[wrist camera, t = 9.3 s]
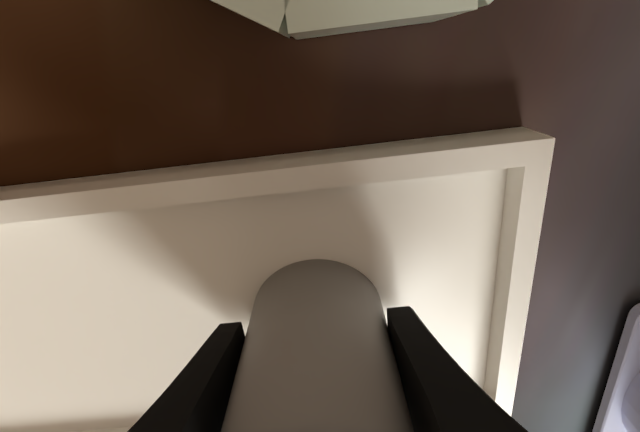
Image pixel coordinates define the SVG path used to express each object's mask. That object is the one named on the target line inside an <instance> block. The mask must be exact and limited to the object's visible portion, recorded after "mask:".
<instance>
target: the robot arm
mask: <svg viewBox="0 0 640 432" xmlns="http://www.w3.org/2000/svg"><path fill="white" fill-rule="evenodd" d="M387 327H388V331H389V335H390V339H391V343H392V347H393V351H394V355H395V359H396V362H397V366H398V370H399V374H400V378H401V382H402V386H403V390H404V394H405V398H406V402H407V406H408V410H409V414H410V418H411V422H412V426H413V430H414V432H528V431H527V430H526V429H525V428H523V427H522V426H521V425H520V424H519V423H518V422H517V421H515V420H514V419H513V418H512V417H511V416H510V415H509V414H508V413H507V412H505V411H504V410H503V409H502V408H501V407H500V406H499V405H498V404H497V403H496V402H495V401H494V400H493V399H492V398H491V397H490V396H489V395H488V394H487V393H486V392H485V391H484V390H483V389H482V388H481V387H480V386H479V385H478V384H477V383H476V382H475V381H474V380H473V379H472V378H471V377H470V376H469V375H468V374H467V373H466V372H465V371H464V370H463V369H462V368H461V367H460V366H459V365H458V363H457V362H456V361H455V360H454V359H453V358H452V357H451V356H450V355H449V353H448V352H447V351H446V350H445V349H444V348H443V347H442V345H441V344H440V343H439V342H438V341H437V340H436V338H435V337H434V336H433V335H432V333H431V332H430V331H429V330H428V329H427V327H426V326H425V325H424V323H423V322H422V321H421V319H420V318H419V317H418V315H417V314H416V313H415V311H414V310H413V309H412V308H411V307H410V306H403V307H392V308H387ZM244 340H245V334H244V330H243V326H242V323H241V322H233V323H222V324H219V325H218V327H217V328H216V329H215V330H214V331H213V333H212V334H211V335H210V336H209V338H208V339H207V340H206V341H205V343H204V344H203V345H202V346H201V348H200V349H199V350H198V351H197V353H196V354H195V355H194V356H193V357H192V359H191V360H190V361H189V362H188V364H187V365H186V366H185V367H184V368H183V370H182V371H181V372H180V373H179V374H178V376H177V377H176V378H175V379H174V380H173V382H172V383H171V384H170V385H169V386H168V388H167V389H166V390H165V391H164V392H163V393H162V394H161V396H160V397H159V398H158V399H157V400H156V401H155V402H154V403H153V404H152V405H151V407H150V408H149V409H148V410H147V411H146V412H145V413H144V414H143V415H142V417H141V418H140V419H139V420H138V421H137V422H136V423H135V424H134V425H133V426H132V427H131V428H130V429H129V430H128V431H127V432H221V429H222V425H223V421H224V417H225V414H226V410H227V406H228V402H229V398H230V394H231V390H232V386H233V383H234V379H235V375H236V371H237V367H238V363H239V359H240V356H241V352H242V348H243V344H244ZM592 432H640V303H638V304H637V305H635V306H634V307H633V308H632V309H631V310H630V312H629V313H628V317H627V320H626V323H625V326H624V330H623V333H622V336H621V339H620V343H619V346H618V349H617V352H616V356H615V359H614V362H613V365H612V369H611V372H610V375H609V379H608V382H607V385H606V388H605V392H604V395H603V398H602V401H601V405H600V408H599V411H598V414H597V418H596V421H595V424H594V427H593V431H592Z"/></svg>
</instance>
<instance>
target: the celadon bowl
mask: <svg viewBox="0 0 640 432" xmlns="http://www.w3.org/2000/svg"><path fill="white" fill-rule="evenodd" d="M210 1H212V2H214V3H216V4H218V5H220V6H222V7H225V8H227V9H229V10H231V11H233V12H235V13H237V14H239V15H241V16H243V17H246V18H248V19H250V20H252V21H254V22H256V23H258V24H260V25H262V26H264V27H267V28H269V29H271V30H273V31H275V32H277V33H279V34H281V35H283V36H285V37H288V38H290V36H292V37H294V38H295V39H297V40H298V39H305V38H313V37H321V36H329V35H336V34H344V33H352V32H360V31H367V30H375V29H383V28H390V27H398V26H406V25H414V24H421V23H429V22H434V21H438V20H441V19H445V18H448V17H452V16H456V15H459V14H463V13H466V12H470V11H473V10H477V9H478V8H479V7H482V6H486V5H488V4H490V3H491V2H492V1H494V0H210Z"/></svg>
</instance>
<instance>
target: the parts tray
mask: <svg viewBox="0 0 640 432" xmlns="http://www.w3.org/2000/svg"><path fill="white" fill-rule="evenodd" d="M554 144H555V138H554V137H551V136H548V135H546V134H543V133H540V132H537V131H534V130H531V129H529V128H526V127H515V128H506V129H497V130H488V131H480V132H471V133H462V134H454V135H445V136H436V137H428V138H419V139H410V140H401V141H393V142H384V143H375V144H367V145H358V146H349V147H340V148H332V149H323V150H314V151H306V152H297V153H288V154H280V155H271V156H262V157H253V158H245V159H236V160H227V161H219V162H210V163H201V164H192V165H184V166H175V167H166V168H158V169H149V170H140V171H132V172H123V173H114V174H105V175H97V176H88V177H79V178H71V179H62V180H53V181H44V182H36V183H27V184H18V185H10V186H1V187H0V432H127V431H128V430H129V429H130V428H131V427H132V426H133V425H134V424H135V423H136V422H137V421H138V420H139V419H140V418H141V417H142V415H143V414H144V413H145V412H146V411H147V410H148V409H149V408H150V407H151V405H152V404H153V403H154V402H155V401H156V400H157V399H158V398H159V397H160V396H161V394H162V393H163V392H164V391H165V390H166V389H167V388H168V386H169V385H170V384H171V383H172V382H173V380H174V379H175V378H176V377H177V376H178V374H179V373H180V372H181V371H182V370H183V368H184V367H185V366H186V365H187V364H188V362H189V361H190V360H191V359H192V357H193V356H194V355H195V354H196V353H197V351H198V350H199V349H200V348H201V346H202V345H203V344H204V343H205V341H206V340H207V339H208V338H209V336H210V335H211V334H212V333H213V331H214V330H215V329H216V328H217V327H218V325H219V324H222V323H233V322H241V323H242V326H243V330H244V334H245V336H246V332H247V328H248V325H249V321H250V317H251V313H252V309H253V305H254V301H255V298H256V295H257V293H258V291H259V289H260V287H261V286H262V284H263V283H264V282H265V281H266V280H267V279H268V278H269V277H270V276H271V275H272V274H273V273H275V272H276V271H278V270H279V269H281V268H283V267H285V266H287V265H289V264H292V263H295V262H299V261H304V260H311V259H324V260H332V261H337V262H340V263H344V264H346V265H349V266H351V267H353V268H355V269H356V270H358V271H360V272H361V273H362V274H364V275H365V276H366V277H367V278H368V279H369V280H370V281H371V282H372V284H373V285H374V286H375V288H376V290H377V292H378V294H379V296H380V299H381V303H382V307H383V311H384V315H385V319H386V323H387V308H392V307H403V306H410V307H411V308H412V309H413V310H414V311H415V313H416V314H417V315H418V317H419V318H420V319H421V321H422V322H423V323H424V325H425V326H426V327H427V329H428V330H429V331H430V332H431V333H432V335H433V336H434V337H435V338H436V340H437V341H438V342H439V343H440V344H441V345H442V347H443V348H444V349H445V350H446V351H447V352H448V353H449V355H450V356H451V357H452V358H453V359H454V360H455V361H456V362H457V363H458V365H459V366H460V367H461V368H462V369H463V370H464V371H465V372H466V373H467V374H468V375H469V376H470V377H471V378H472V379H473V380H474V381H475V382H476V383H477V384H478V385H479V386H480V387H481V388H482V389H483V390H484V391H485V392H486V393H487V394H488V395H489V396H490V397H491V398H492V399H493V400H494V401H495V402H496V403H497V404H498V405H499V406H500V407H501V408H502V409H503V410H504V411H505V412H507V413H508V414H509V415H510V416H511V415H512V408H513V402H514V396H515V389H516V383H517V377H518V371H519V364H520V358H521V352H522V345H523V339H524V333H525V327H526V320H527V314H528V308H529V301H530V295H531V289H532V282H533V276H534V270H535V264H536V257H537V251H538V245H539V238H540V232H541V226H542V220H543V213H544V207H545V201H546V194H547V188H548V182H549V176H550V169H551V163H552V157H553V150H554Z"/></svg>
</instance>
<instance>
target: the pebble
mask: <svg viewBox="0 0 640 432" xmlns="http://www.w3.org/2000/svg"><path fill="white" fill-rule="evenodd" d="M221 432H414V430H413V426H412V422H411V418H410V414H409V410H408V406H407V402H406V398H405V394H404V390H403V386H402V382H401V378H400V374H399V370H398V366H397V362H396V359H395V355H394V351H393V347H392V343H391V339H390V335H389V331H388V327H387V323H386V319H385V315H384V311H383V307H382V303H381V299H380V296H379V294H378V292H377V290H376V288H375V286H374V285H373V284H372V282H371V281H370V280H369V279H368V278H367V277H366V276H365V275H364V274H362V273H361V272H360V271H358V270H356V269H355V268H353V267H351V266H349V265H346V264H344V263H340V262H337V261H332V260H324V259H311V260H304V261H299V262H295V263H292V264H289V265H287V266H285V267H283V268H281V269H279V270H278V271H276V272H275V273H273V274H272V275H271V276H270V277H269V278H268V279H267V280H266V281H265V282H264V283H263V284H262V286H261V287H260V289H259V291H258V293H257V295H256V298H255V301H254V305H253V309H252V313H251V317H250V321H249V325H248V328H247V332H246V336H245V340H244V344H243V348H242V352H241V356H240V359H239V363H238V367H237V371H236V375H235V379H234V383H233V386H232V390H231V394H230V398H229V402H228V406H227V410H226V414H225V417H224V421H223V425H222V429H221Z"/></svg>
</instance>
